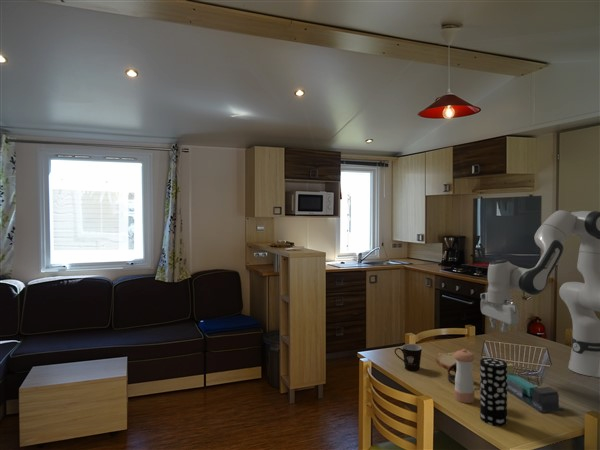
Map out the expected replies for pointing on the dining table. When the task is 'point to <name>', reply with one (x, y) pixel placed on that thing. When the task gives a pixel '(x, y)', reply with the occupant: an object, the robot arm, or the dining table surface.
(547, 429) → the dining table surface
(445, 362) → the bread slice
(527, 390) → the teal yellow slider block
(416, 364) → the coffee mug
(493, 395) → the white-spotted black cylinder
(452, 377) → the pottery mug
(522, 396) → the guide
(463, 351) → the pepper shaker
